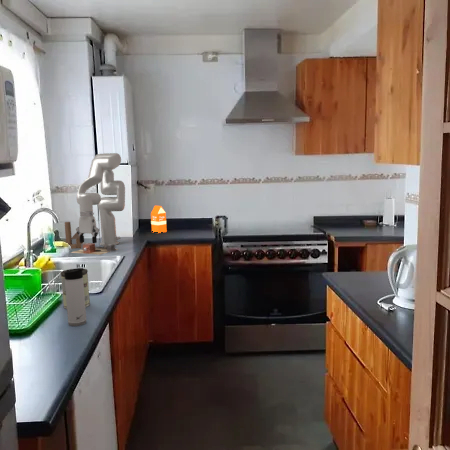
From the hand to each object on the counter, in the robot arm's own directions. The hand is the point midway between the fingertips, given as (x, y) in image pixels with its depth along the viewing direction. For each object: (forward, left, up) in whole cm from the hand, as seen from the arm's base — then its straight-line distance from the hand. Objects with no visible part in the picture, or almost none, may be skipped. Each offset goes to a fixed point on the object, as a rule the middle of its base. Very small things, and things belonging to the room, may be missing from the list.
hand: (88, 242), depth 313 cm
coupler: (-1, 0, -6) cm, 6 cm away
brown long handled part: (-10, -20, -7) cm, 24 cm away
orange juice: (-87, -7, -7) cm, 87 cm away
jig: (-6, 0, -7) cm, 9 cm away
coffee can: (+86, +69, -7) cm, 111 cm away
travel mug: (+103, +85, -7) cm, 134 cm away
